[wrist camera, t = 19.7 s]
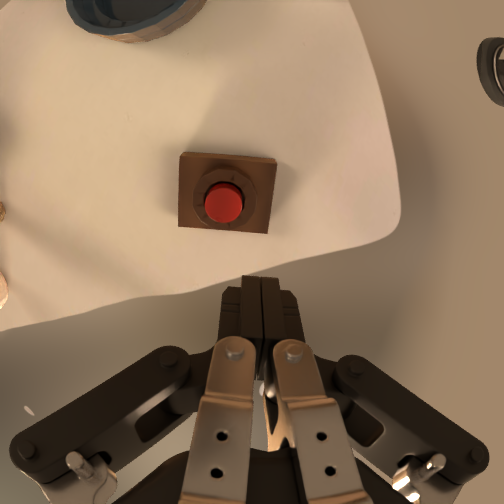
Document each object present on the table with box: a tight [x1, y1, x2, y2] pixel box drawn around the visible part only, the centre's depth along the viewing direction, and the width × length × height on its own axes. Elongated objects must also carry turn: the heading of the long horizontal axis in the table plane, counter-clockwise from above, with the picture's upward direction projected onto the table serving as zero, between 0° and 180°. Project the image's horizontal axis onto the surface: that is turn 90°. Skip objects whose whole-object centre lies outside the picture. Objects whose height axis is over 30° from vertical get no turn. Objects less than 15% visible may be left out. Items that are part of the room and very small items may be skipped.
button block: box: [178, 152, 277, 234], centre depth 32 cm, size 10×8×4 cm
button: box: [205, 183, 242, 223], centre depth 30 cm, size 4×4×2 cm
